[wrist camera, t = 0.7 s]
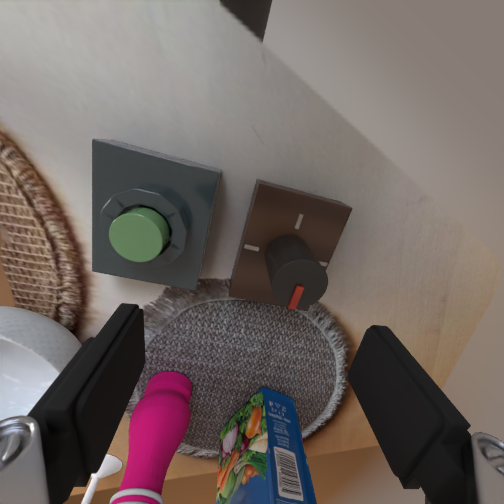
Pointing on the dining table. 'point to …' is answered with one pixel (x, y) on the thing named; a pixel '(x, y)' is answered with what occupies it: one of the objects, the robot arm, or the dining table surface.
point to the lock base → (283, 223)
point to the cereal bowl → (30, 358)
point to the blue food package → (264, 454)
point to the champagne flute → (102, 475)
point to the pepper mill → (155, 437)
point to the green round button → (139, 234)
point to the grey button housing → (155, 198)
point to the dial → (294, 272)
